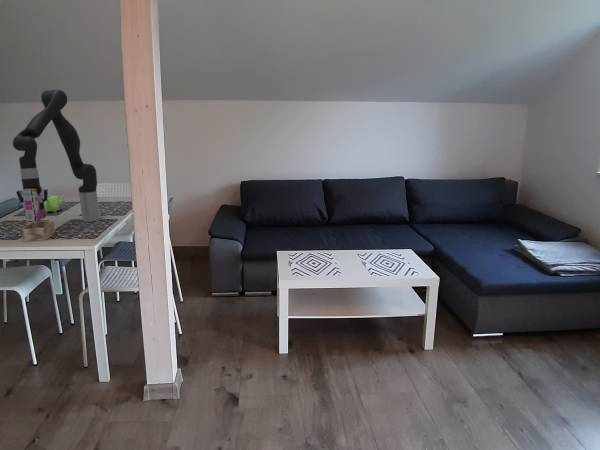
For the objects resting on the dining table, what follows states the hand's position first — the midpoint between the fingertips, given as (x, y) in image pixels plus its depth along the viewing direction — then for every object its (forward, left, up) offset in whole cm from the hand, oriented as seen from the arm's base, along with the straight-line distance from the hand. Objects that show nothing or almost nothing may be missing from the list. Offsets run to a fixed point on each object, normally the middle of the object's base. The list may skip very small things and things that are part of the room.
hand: (35, 209), depth 226 cm
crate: (0, 0, -14) cm, 14 cm away
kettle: (+7, -62, -14) cm, 64 cm away
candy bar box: (0, 0, -5) cm, 5 cm away
